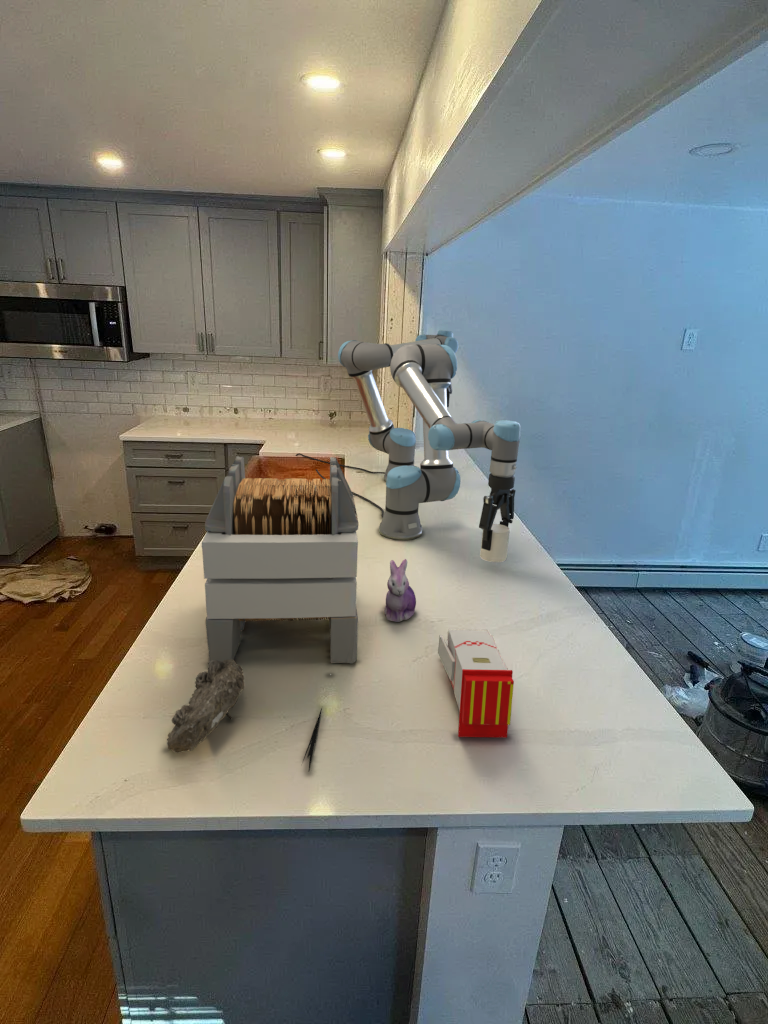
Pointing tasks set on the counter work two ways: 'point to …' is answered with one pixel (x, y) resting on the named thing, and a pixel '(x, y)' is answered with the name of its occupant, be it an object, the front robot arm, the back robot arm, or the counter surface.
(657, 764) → the counter surface
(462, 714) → the toy
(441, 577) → the counter surface
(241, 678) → the fossil
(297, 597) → the record crate stand
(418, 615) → the counter surface
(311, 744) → the feather
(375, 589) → the counter surface
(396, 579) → the figurine
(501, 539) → the cylinder
